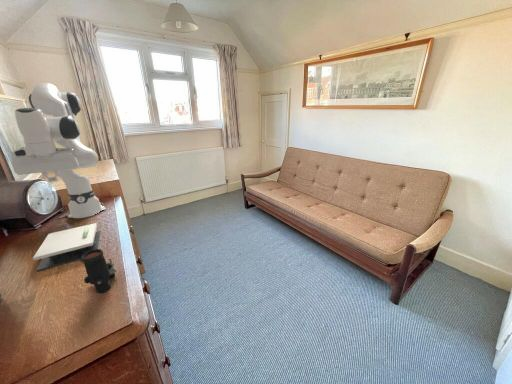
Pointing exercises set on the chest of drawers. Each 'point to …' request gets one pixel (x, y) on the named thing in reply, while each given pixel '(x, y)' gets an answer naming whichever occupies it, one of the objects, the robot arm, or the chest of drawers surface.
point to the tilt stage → (66, 241)
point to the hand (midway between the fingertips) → (53, 181)
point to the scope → (98, 270)
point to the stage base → (67, 256)
